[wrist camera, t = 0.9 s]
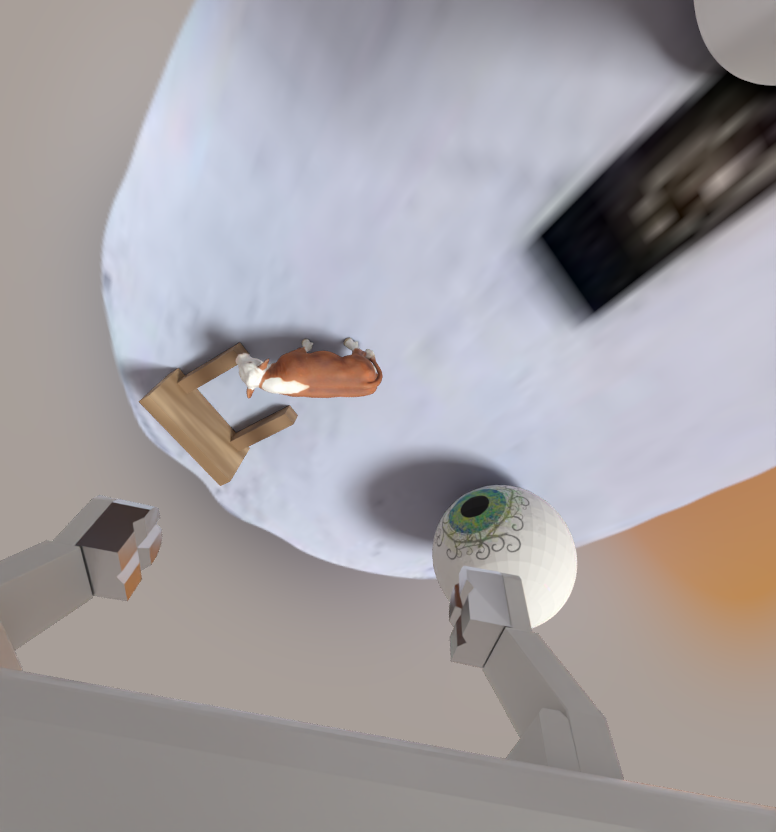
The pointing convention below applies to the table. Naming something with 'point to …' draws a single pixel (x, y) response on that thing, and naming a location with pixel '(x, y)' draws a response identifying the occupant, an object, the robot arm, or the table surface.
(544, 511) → the decorative object
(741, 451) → the table surface
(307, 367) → the bull figurine
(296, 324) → the table surface
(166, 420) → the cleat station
